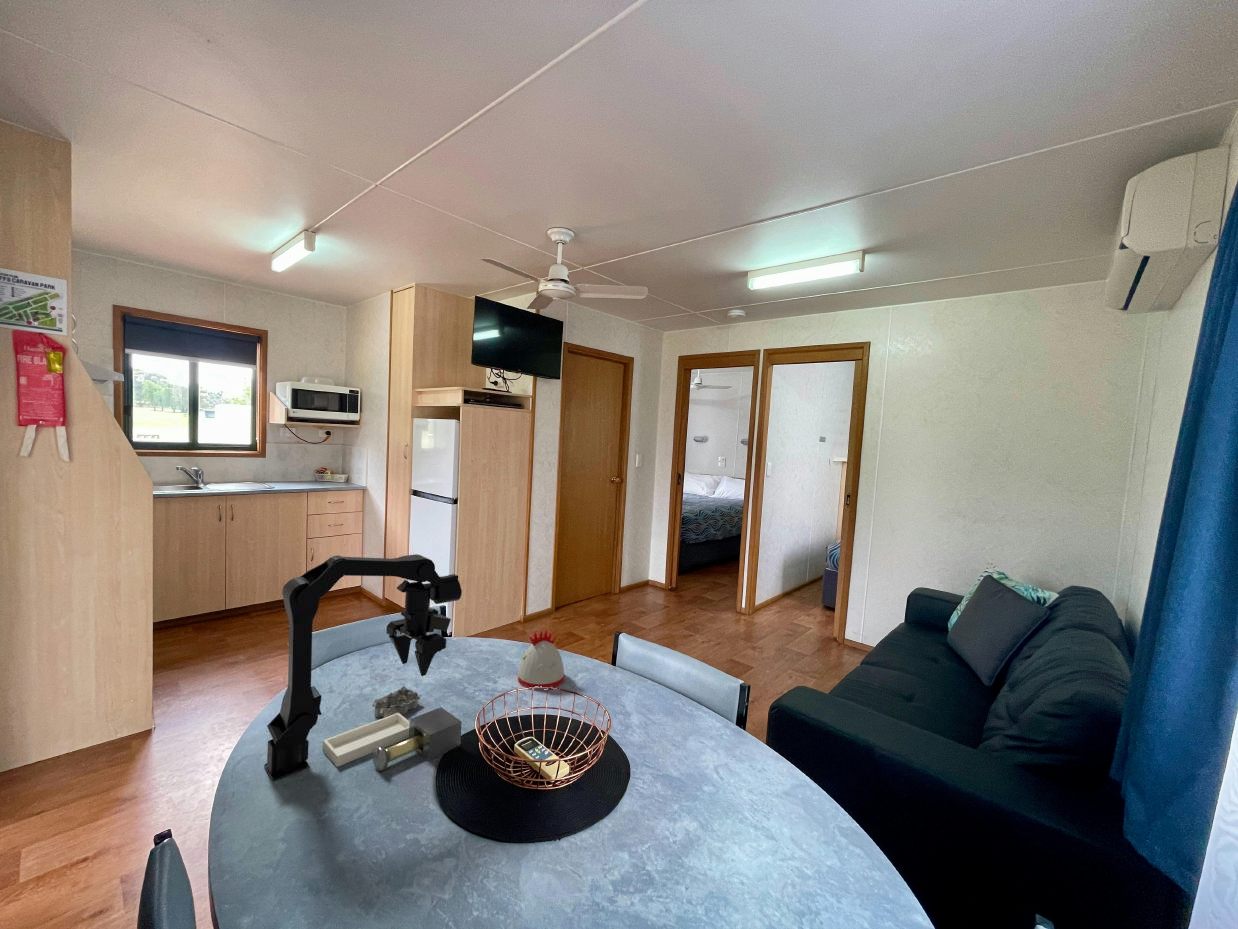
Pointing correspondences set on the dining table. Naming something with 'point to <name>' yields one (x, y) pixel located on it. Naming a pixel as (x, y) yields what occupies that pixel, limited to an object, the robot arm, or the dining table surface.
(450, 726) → the block
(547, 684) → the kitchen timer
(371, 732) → the tray
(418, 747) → the pin
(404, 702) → the egg carton
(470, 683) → the dining table surface
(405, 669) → the dining table surface
